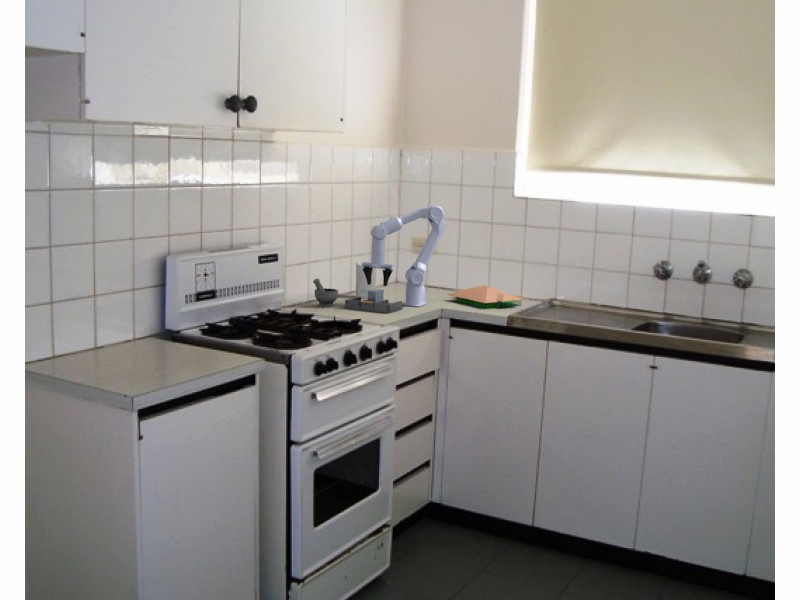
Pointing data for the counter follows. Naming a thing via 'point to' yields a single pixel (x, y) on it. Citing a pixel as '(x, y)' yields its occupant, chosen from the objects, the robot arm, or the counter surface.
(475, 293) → the house
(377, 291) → the rectangular block
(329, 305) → the mortar and pestle
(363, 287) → the skincare box
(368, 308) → the rack
